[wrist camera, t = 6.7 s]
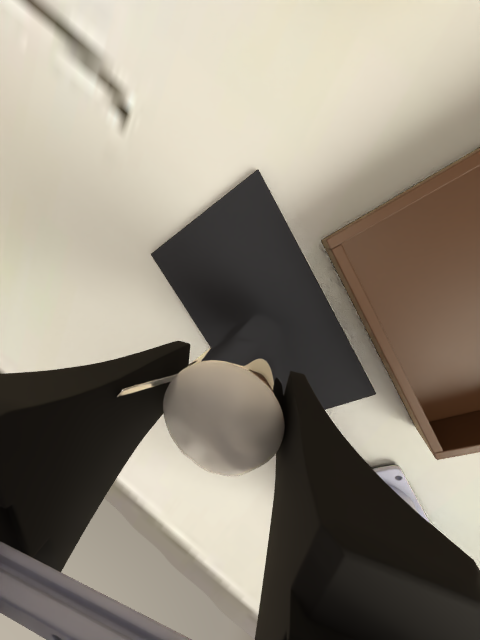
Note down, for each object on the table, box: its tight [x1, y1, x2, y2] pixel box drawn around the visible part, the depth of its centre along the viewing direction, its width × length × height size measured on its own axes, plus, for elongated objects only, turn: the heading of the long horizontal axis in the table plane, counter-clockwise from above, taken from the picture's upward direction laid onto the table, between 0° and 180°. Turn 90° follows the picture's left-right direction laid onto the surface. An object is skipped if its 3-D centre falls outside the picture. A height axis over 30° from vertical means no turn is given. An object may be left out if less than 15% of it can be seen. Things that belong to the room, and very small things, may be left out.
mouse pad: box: [151, 170, 376, 410], centre depth 18 cm, size 18×10×1 cm, turn 32°
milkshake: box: [115, 314, 285, 476], centre depth 11 cm, size 4×5×10 cm
